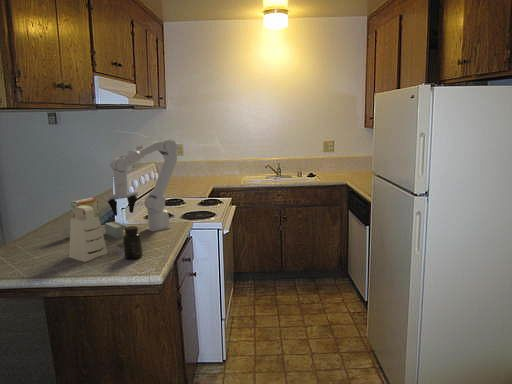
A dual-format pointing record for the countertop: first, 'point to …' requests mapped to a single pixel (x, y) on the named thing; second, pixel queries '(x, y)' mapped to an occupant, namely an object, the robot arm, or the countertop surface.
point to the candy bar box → (86, 202)
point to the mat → (120, 240)
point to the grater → (86, 235)
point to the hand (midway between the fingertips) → (123, 213)
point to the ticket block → (114, 229)
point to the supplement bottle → (132, 243)
